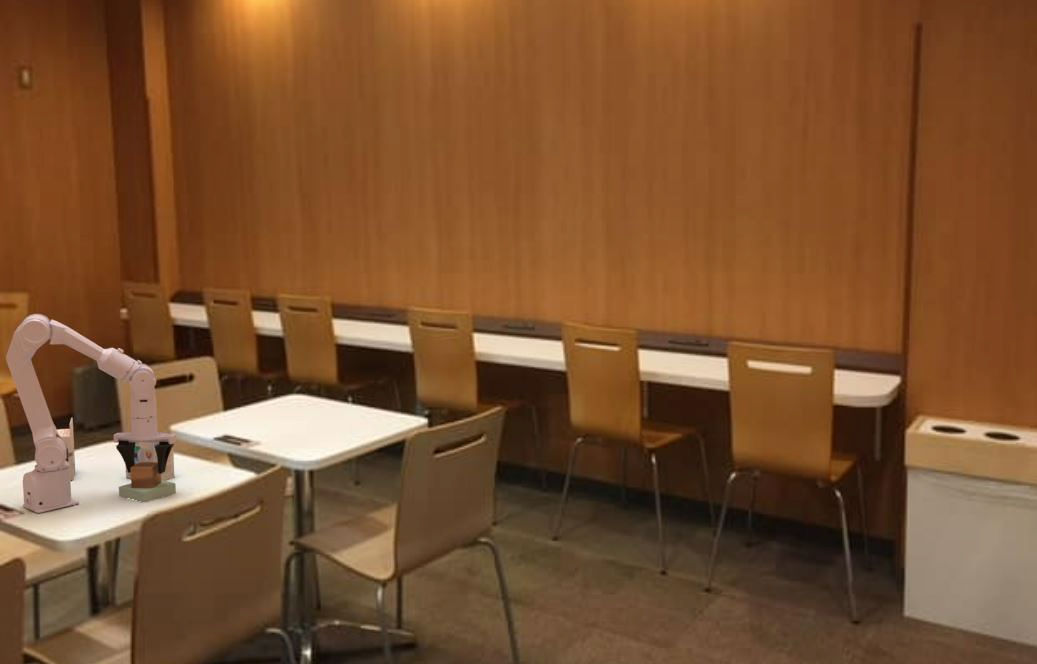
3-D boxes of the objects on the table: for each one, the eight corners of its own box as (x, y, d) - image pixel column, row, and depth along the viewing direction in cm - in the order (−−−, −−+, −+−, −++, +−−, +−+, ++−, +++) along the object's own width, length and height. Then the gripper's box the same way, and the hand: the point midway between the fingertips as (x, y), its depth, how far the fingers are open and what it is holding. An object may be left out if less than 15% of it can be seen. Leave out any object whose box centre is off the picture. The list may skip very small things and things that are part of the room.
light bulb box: (125, 478, 241) (123, 437, 240) (146, 472, 247) (144, 431, 246) (154, 484, 236) (152, 441, 235) (175, 477, 242) (174, 436, 241)
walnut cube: (152, 488, 224) (150, 467, 224) (131, 487, 225) (130, 467, 224) (161, 482, 229) (160, 462, 228) (141, 481, 229) (140, 461, 229)
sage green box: (144, 505, 221) (143, 492, 221) (119, 498, 226) (118, 486, 225) (175, 495, 229) (175, 483, 229) (150, 489, 234) (150, 477, 233)
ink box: (55, 474, 245) (51, 418, 243) (76, 472, 247) (72, 416, 245) (52, 482, 237) (48, 425, 235) (74, 480, 239) (70, 423, 237)
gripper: (180, 413, 228) (183, 468, 230) (122, 412, 229) (125, 466, 231) (167, 419, 221) (170, 476, 223) (107, 418, 222) (110, 474, 224)
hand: (146, 472), depth 227 cm, fingers open, 7 cm apart
